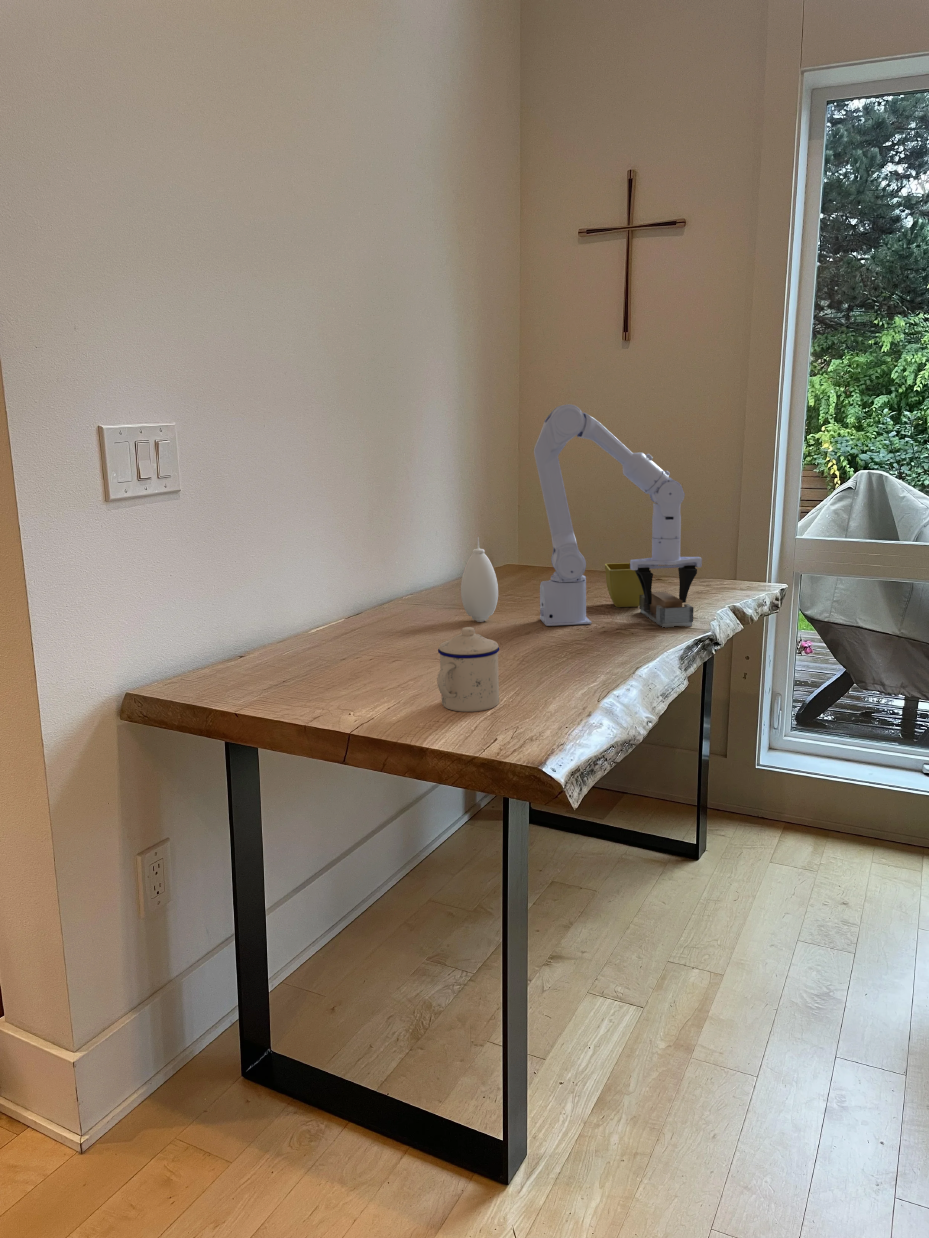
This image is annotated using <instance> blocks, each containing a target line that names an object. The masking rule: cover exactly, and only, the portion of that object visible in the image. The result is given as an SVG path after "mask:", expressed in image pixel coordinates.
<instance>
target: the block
mask: <svg viewBox="0 0 929 1238" xmlns="http://www.w3.org/2000/svg"><path fill="white" fill-rule="evenodd" d="M651 592H652V603H651V604H650V611H651V612H653V613H654V614H656V606H662V607H663V608H672V607H683V603H682V600H680V599H679V597H676V596H675V595H673V594H671V593H669V592H668V591H666V590H663V591H651Z"/></svg>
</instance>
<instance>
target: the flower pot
mask: <svg viewBox="0 0 929 1238" xmlns="http://www.w3.org/2000/svg"><path fill="white" fill-rule="evenodd" d="M604 572H605V581H606V583H605V584H606V587H607V591H608V595H609V597H610V600H611V601H612V603H613V604H614V606H615V607H616V608H633V607H634V608H637V607H638V608H639V597H640V595H644V592H643V589H642V586H641V583H640V581H639V579H638V576H637V574H636V572H635V570H631V569H630V562H619V563H617V562H616V563H613V562H612V563H604Z"/></svg>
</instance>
